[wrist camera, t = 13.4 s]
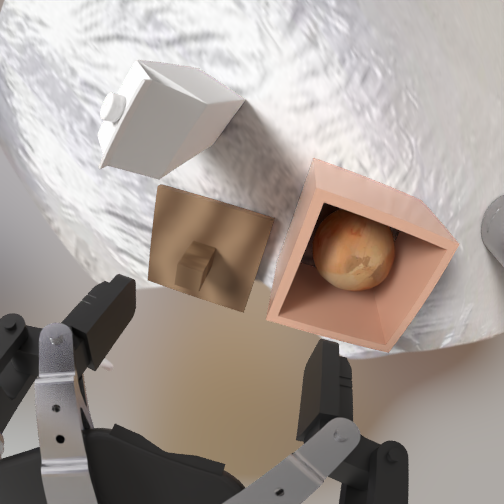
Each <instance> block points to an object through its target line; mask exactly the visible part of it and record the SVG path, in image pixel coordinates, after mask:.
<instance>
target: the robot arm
mask: <svg viewBox="0 0 504 504" xmlns="http://www.w3.org/2000/svg"><path fill="white" fill-rule="evenodd" d="M481 234H482V239H483V242H484V244H485V246H486V247H487V248H488V249H489V251H490V252H491V253H492V254H493V255H494V256H495V258H496V259H497V260H498V261H499V262H500V264H501V265H502V266H503V267H504V195H503V196H501V197H499V198H497V199H496V200H495V201H494V202H493V203H492V204H491V205H490V206H489V208H488V209H487V211H486V213H485V215H484V218H483V221H482V227H481ZM135 309H136V282H135V280H134V279H132V278H129V277H126V276H123V275H121V274H118V275H116V276H115V277H114V278H113V280H112V281H111V282H110V283H109V282H106V281H104V282H102V283H100V284H98V285H97V286H95V287H94V288H93V289H92V290H91V291H90V292H89V293H88V295H86V296H85V297H84V298H83V300H82V301H81V302H80V303H79V304H78V305H77V306H76V307H75V308H74V309H73V310H72V311H71V313H70V314H69V315H68V316H67V317H66V318H65V319H64V320H63V321H62V322H61V323H52V324H49V325H47V326H46V327H44V328H43V329H41V328H36V327H31V326H27V325H26V324H25V321H24V319H23V318H22V316H20V315H18V314H7V315H5V316H3V317H2V318H1V319H0V504H301V503H302V502H303V501H305V500H306V499H307V498H308V497H309V496H310V495H311V494H312V493H313V492H314V491H315V490H316V489H318V488H319V487H320V486H321V484H322V483H323V482H324V479H326V477H327V476H328V477H330V478H332V479H335V480H337V481H339V482H341V483H342V485H341V492H340V499H339V504H408V454H407V451H406V449H405V448H404V446H403V445H401V444H400V443H398V442H396V441H386V442H384V443H382V444H381V445H380V444H378V443H376V442H374V441H371V440H369V439H367V438H365V437H363V436H362V435H361V434H360V431H359V429H358V427H357V426H356V424H355V423H354V422H353V396H352V381H351V380H352V370H351V366H350V364H349V362H348V360H347V358H345V357H341V356H339V344H338V343H337V342H333V341H329V340H325V339H320V340H319V342H318V344H317V345H316V347H315V349H314V351H313V353H312V355H311V356H310V358H309V360H308V362H307V364H306V367H305V370H304V377H303V386H302V396H301V404H300V413H299V422H298V429H297V437H296V440H298V441H303V442H304V445H302V446H301V447H300V448H299V449H298V450H297V451H295V452H294V453H292V454H291V455H289V456H288V457H287V458H285V459H284V460H283V461H281V462H280V463H279V464H278V465H276V466H275V467H274V468H273V469H271V470H270V471H268V472H267V473H266V474H264V475H263V476H262V477H260V478H259V479H258V480H256V481H255V482H254V483H252V484H251V485H249V486H248V487H246V488H245V487H244V486H243V484H242V483H241V482H240V481H239V480H237V479H236V478H235V477H234V476H232V475H231V474H230V473H228V472H226V471H224V467H225V464H223V463H219V462H215V461H212V460H209V459H206V458H202V457H199V456H194V455H184V454H175V453H168V452H165V451H163V450H161V449H160V448H159V447H157V446H156V445H154V444H153V443H151V442H150V441H148V440H147V439H145V438H144V437H143V436H141V435H140V434H137V433H135V432H132V431H130V430H128V429H126V428H124V427H121V426H119V425H117V424H115V425H114V427H113V429H106V428H94V426H93V422H92V419H91V415H90V411H89V406H88V400H87V394H86V388H85V381H84V374H83V373H84V371H85V370H86V368H87V367H88V368H90V369H92V370H94V371H96V370H97V368H98V367H99V365H100V364H101V362H102V361H103V359H104V358H105V356H106V355H107V354H108V352H109V351H110V349H111V348H112V346H113V345H114V343H115V342H116V340H117V339H118V338H119V336H120V335H121V333H122V332H123V330H124V329H125V328H126V326H127V325H128V323H129V322H130V321H131V319H132V318H133V316H134V313H135ZM37 376H38V377H39V378H37ZM34 381H35V402H36V417H37V428H38V437H39V444H40V447H37V448H34V449H32V450H29V451H25V452H22V453H19V454H16V455H13V456H9V457H6V458H3V459H2V458H1V454H3V452H4V438H3V435H2V433H3V431H4V429H5V427H6V426H7V424H8V422H9V421H10V419H11V417H12V415H13V414H14V412H15V411H16V409H17V407H18V405H19V404H20V402H21V401H22V399H23V398H24V396H25V395H26V393H27V391H28V390H29V388H30V387H31V385H32V384H33V382H34Z"/></svg>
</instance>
